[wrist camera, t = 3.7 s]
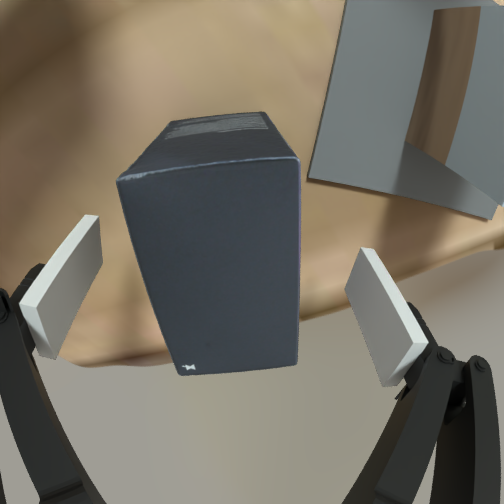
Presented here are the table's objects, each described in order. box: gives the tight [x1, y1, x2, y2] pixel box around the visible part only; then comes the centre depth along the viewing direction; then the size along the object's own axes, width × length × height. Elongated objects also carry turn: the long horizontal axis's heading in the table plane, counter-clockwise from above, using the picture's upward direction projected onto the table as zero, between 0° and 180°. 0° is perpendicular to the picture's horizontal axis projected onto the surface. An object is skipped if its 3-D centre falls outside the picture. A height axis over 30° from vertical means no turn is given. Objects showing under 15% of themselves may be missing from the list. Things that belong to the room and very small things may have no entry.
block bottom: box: [405, 6, 481, 165], centre depth 15 cm, size 6×10×5 cm, turn 171°
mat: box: [307, 0, 499, 220], centre depth 17 cm, size 18×18×1 cm
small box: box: [116, 112, 301, 376], centre depth 17 cm, size 11×6×10 cm, turn 4°
